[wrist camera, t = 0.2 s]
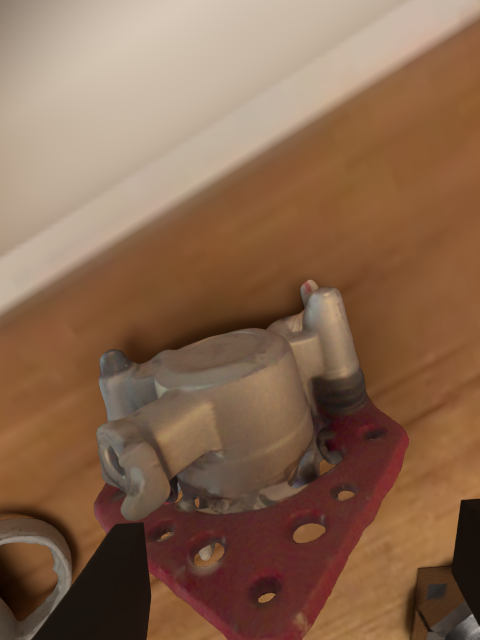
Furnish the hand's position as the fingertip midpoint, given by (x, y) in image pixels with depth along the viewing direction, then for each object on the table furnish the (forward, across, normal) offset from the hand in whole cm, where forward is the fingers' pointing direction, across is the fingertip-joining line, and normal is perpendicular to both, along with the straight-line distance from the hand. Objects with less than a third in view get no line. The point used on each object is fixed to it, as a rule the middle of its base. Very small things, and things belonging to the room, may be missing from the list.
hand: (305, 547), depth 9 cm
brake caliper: (+10, +1, +1) cm, 10 cm away
